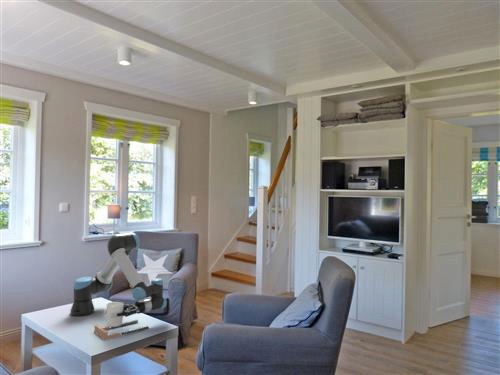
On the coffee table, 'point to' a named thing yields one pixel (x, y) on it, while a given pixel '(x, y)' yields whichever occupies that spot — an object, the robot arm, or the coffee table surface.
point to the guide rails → (132, 329)
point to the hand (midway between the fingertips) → (107, 313)
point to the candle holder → (114, 308)
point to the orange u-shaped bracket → (104, 332)
